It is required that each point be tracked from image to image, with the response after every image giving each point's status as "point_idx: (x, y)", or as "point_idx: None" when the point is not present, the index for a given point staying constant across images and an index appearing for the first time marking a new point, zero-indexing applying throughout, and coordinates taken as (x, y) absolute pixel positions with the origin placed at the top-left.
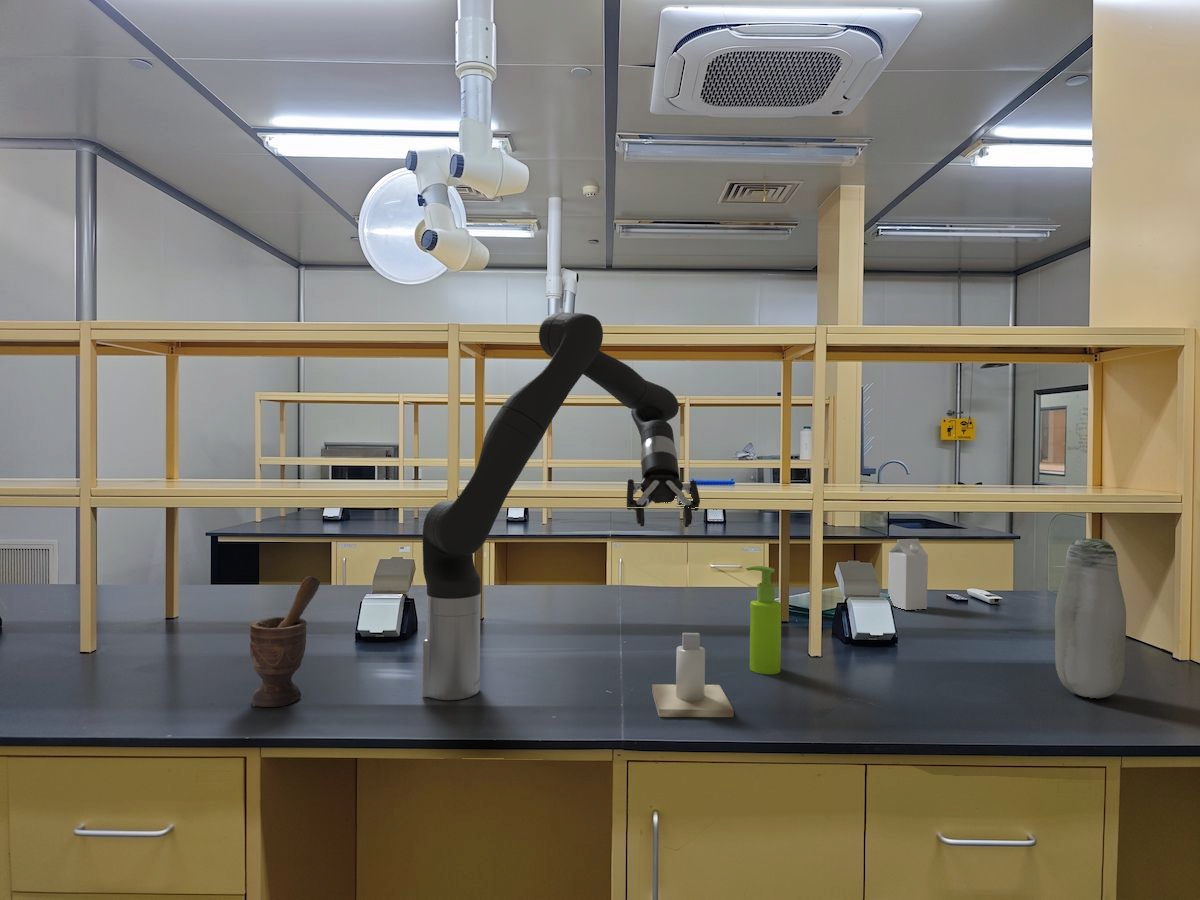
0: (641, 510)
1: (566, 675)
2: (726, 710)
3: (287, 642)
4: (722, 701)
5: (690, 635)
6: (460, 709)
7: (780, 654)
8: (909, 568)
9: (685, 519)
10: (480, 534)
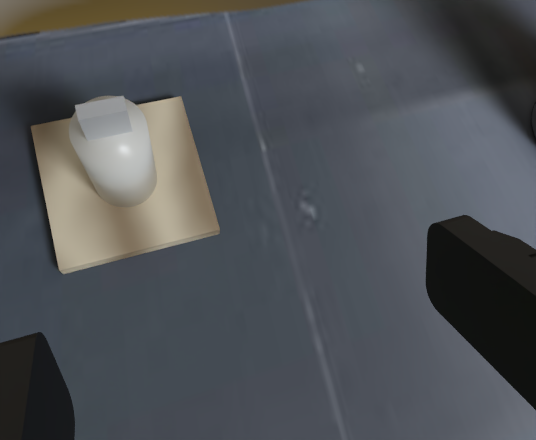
0: (532, 267)
1: None
2: (46, 123)
3: None
4: (53, 164)
5: (102, 102)
6: (514, 63)
7: None
8: None
9: (40, 349)
10: None
